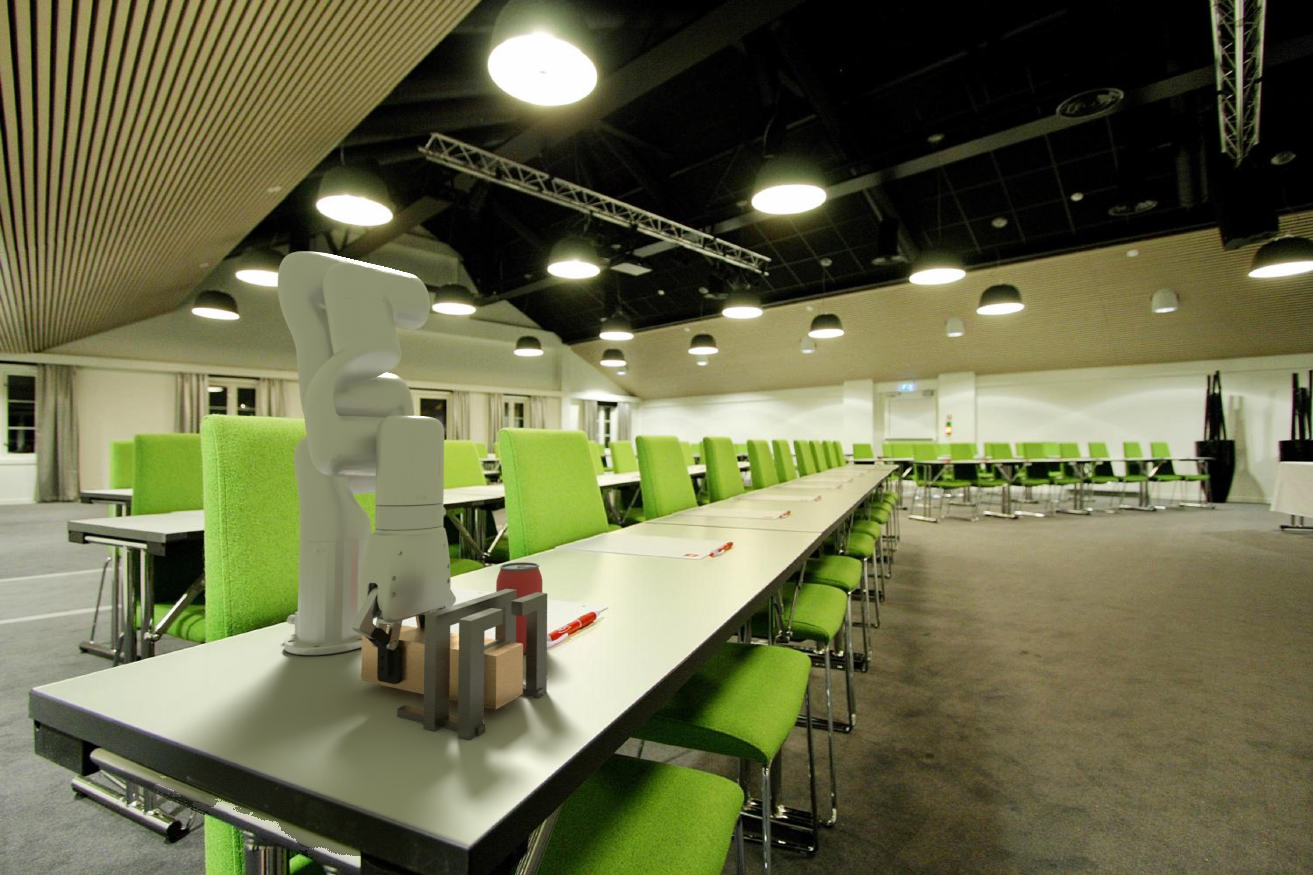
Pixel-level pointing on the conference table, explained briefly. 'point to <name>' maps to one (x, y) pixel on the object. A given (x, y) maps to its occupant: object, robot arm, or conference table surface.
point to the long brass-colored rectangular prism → (452, 666)
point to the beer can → (520, 588)
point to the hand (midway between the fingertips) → (407, 672)
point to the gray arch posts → (477, 657)
